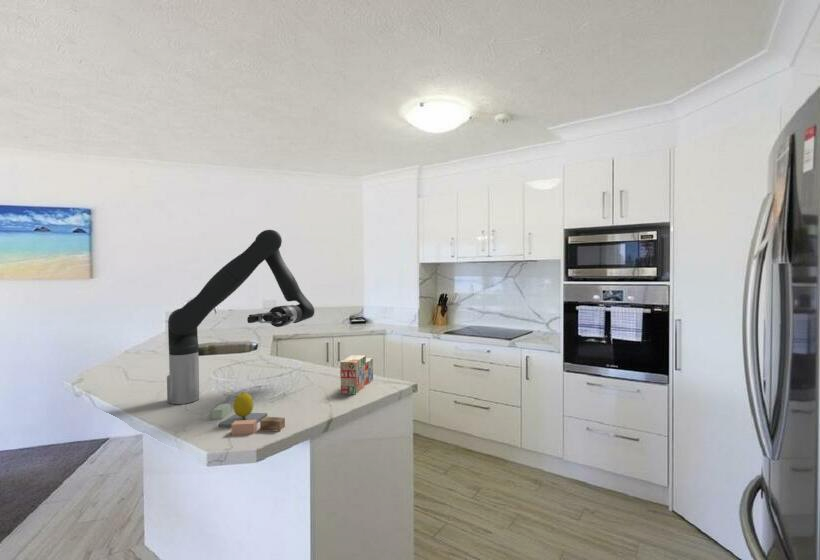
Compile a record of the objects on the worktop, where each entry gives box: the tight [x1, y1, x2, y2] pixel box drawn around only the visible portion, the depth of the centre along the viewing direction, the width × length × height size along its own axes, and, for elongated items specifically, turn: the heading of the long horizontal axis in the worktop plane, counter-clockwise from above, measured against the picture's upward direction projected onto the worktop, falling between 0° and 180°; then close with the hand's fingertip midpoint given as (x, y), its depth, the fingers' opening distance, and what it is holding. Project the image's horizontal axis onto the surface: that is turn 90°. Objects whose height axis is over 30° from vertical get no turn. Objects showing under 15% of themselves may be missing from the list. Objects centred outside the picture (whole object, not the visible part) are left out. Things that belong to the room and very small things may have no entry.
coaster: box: [218, 412, 268, 428], centre depth 120 cm, size 10×10×1 cm
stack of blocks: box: [339, 354, 374, 395], centre depth 156 cm, size 21×6×12 cm, turn 168°
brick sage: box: [211, 403, 232, 420], centre depth 125 cm, size 6×3×3 cm, turn 1°
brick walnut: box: [259, 416, 286, 432], centre depth 113 cm, size 6×3×3 cm, turn 81°
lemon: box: [233, 391, 254, 418], centre depth 120 cm, size 6×6×8 cm
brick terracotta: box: [230, 420, 258, 436], centre depth 111 cm, size 6×3×3 cm, turn 96°
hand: (260, 320), depth 130 cm, fingers open, 8 cm apart
